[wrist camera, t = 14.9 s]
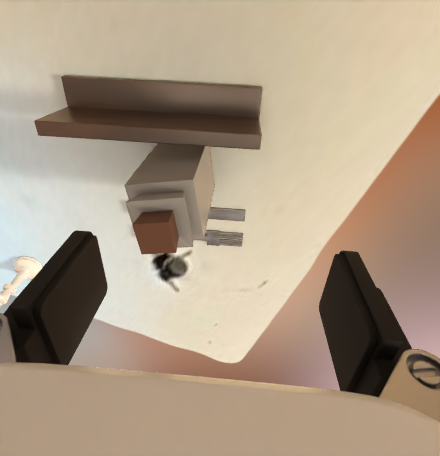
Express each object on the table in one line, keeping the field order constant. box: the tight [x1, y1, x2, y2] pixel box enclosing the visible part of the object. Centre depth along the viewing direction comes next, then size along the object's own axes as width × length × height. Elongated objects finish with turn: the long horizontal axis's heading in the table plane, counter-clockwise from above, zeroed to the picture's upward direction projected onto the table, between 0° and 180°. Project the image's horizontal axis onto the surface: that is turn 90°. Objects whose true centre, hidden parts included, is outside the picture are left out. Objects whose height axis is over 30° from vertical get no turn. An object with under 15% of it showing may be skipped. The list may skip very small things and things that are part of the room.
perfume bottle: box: [125, 143, 215, 254], centre depth 34 cm, size 7×7×18 cm
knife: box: [208, 207, 245, 221], centre depth 45 cm, size 2×17×1 cm, turn 88°
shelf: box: [35, 76, 262, 150], centre depth 34 cm, size 5×24×8 cm, turn 87°
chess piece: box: [0, 256, 43, 307], centre depth 50 cm, size 5×5×10 cm
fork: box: [193, 230, 243, 246], centre depth 48 cm, size 3×16×1 cm, turn 88°
